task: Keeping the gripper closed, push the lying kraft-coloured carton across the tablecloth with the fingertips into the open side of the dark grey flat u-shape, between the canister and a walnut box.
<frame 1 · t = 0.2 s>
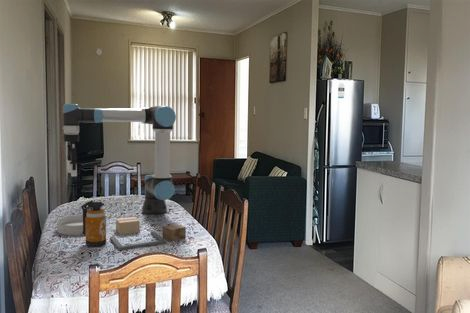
hand: (72, 174, 211), 28 cm above the table, fingers open, 13 cm apart
dark grey flat u-shape: (137, 241, 191), on the table
walnut box: (174, 238, 196), on the table
dish: (80, 229, 209), on the table
carton: (127, 231, 207), on the table
canister: (94, 244, 186), on the table
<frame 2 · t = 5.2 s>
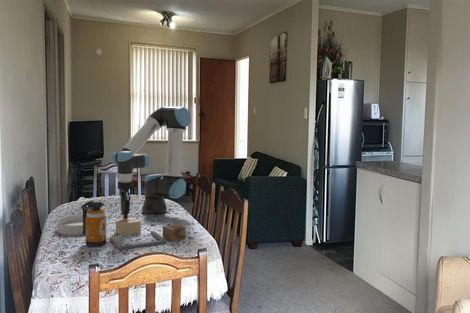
hand: (125, 225, 210), 2 cm above the table, fingers closed
carton: (128, 232, 205), on the table, touching gripper
everything else where it was.
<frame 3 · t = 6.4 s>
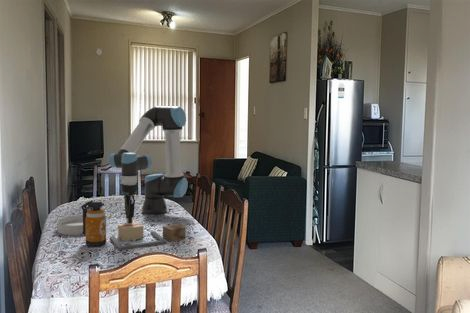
hand: (129, 230, 203), 2 cm above the table, fingers closed
carton: (130, 237, 197), on the table
everything else where it was.
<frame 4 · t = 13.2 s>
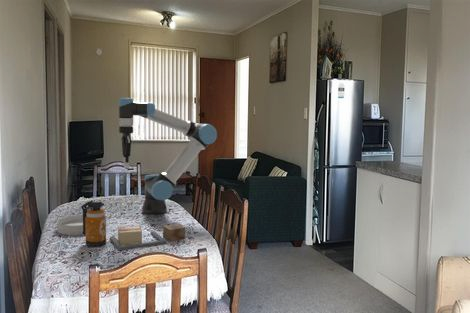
hand: (126, 168, 226), 29 cm above the table, fingers closed
carton: (130, 241, 190), on the table
everything else where it was.
at the end: carton inside the target area (3.6 cm from its centre), on the table; carton tilted 0°; carton moved 18.1 cm from its start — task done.
